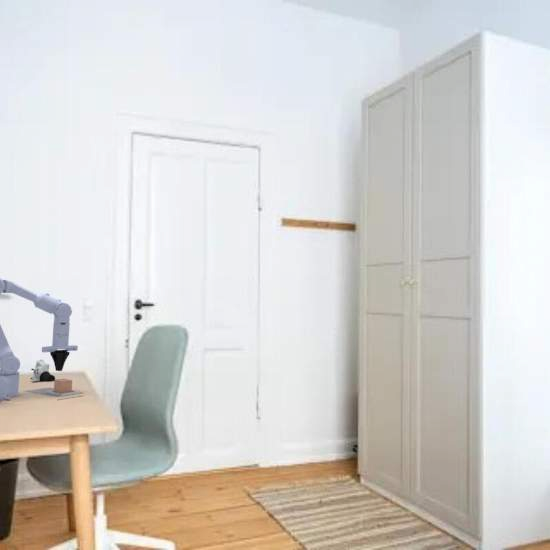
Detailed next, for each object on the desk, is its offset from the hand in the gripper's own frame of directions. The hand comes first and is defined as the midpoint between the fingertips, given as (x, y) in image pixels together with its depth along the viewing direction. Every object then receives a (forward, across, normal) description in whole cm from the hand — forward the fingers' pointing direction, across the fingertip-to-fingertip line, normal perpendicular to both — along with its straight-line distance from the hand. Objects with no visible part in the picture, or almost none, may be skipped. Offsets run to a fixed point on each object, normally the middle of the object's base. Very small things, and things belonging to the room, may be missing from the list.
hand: (58, 370), depth 213 cm
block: (+8, 0, +3) cm, 9 cm away
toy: (+10, -18, -34) cm, 40 cm away
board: (+9, 0, -2) cm, 10 cm away
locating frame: (+8, 0, +3) cm, 9 cm away
